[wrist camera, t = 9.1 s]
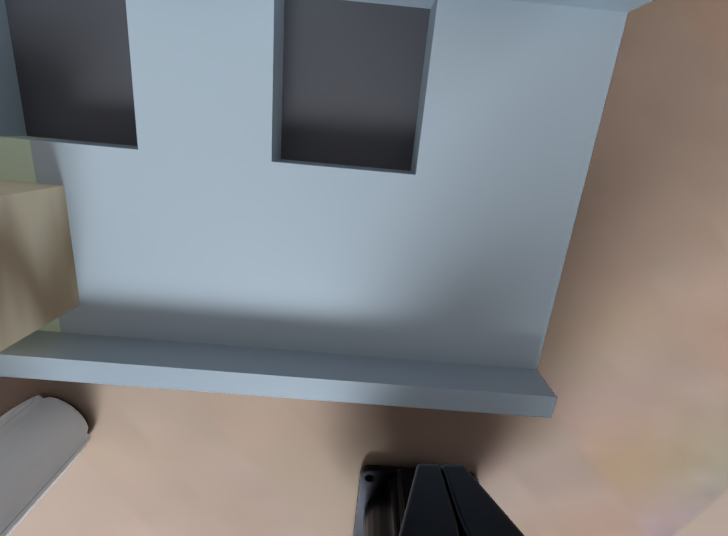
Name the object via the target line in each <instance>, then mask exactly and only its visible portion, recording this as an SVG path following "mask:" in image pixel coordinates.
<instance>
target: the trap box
mask: <svg viewBox="0 0 728 536" xmlns="http://www.w3.org/2000/svg"><path fill="white" fill-rule="evenodd" d="M651 1H653V0H0V179H1V180H11V181H21V182H32V183H42V184H52V185H63V186H64V189H65V196H66V204H67V211H68V219H69V226H70V234H71V241H72V249H73V256H74V264H75V271H76V279H77V286H78V294H79V301H80V305H78V306H77V307H75V308H73V309H72V310H70V311H68V312H67V313H65V314H63V315H62V316H60V317H58V318H56V319H55V320H53V321H51V322H50V323H48V324H46V325H45V326H43V327H41V328H40V329H38V330H36V331H34V332H33V333H31V334H29V335H28V336H26V337H24V338H23V339H21V340H19V341H18V342H16V343H14V344H13V345H11V346H9V347H7V348H6V349H4V350H2V351H1V352H0V376H2V377H16V378H29V379H42V380H55V381H69V382H82V383H95V384H108V385H122V386H135V387H148V388H161V389H175V390H188V391H201V392H214V393H227V394H241V395H254V396H267V397H280V398H294V399H307V400H320V401H333V402H347V403H360V404H373V405H386V406H400V407H413V408H426V409H439V410H453V411H466V412H479V413H492V414H506V415H519V416H532V417H545V418H552V414H553V410H554V407H555V403H556V400H557V396H556V395H555V394H554V392H553V391H552V390H551V388H550V387H549V385H548V384H547V383H546V381H545V380H544V379H543V377H542V376H541V375H540V373H539V372H538V371H537V367H538V363H539V359H540V355H541V352H542V348H543V344H544V340H545V336H546V332H547V328H548V324H549V320H550V316H551V312H552V309H553V305H554V301H555V297H556V293H557V289H558V285H559V281H560V277H561V273H562V269H563V265H564V262H565V258H566V254H567V250H568V246H569V242H570V238H571V234H572V230H573V226H574V222H575V218H576V215H577V211H578V207H579V203H580V199H581V195H582V191H583V187H584V183H585V179H586V175H587V171H588V168H589V164H590V160H591V156H592V152H593V148H594V144H595V140H596V136H597V132H598V128H599V124H600V121H601V117H602V113H603V109H604V105H605V101H606V97H607V93H608V89H609V85H610V81H611V77H612V74H613V70H614V66H615V62H616V58H617V54H618V50H619V46H620V42H621V38H622V34H623V30H624V27H625V23H626V19H627V15H628V12H630V11H632V10H634V9H636V8H638V7H641V6H643V5H645V4H647V3H649V2H651Z"/></svg>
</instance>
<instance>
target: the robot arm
mask: <svg viewBox="0 0 728 536" xmlns="http://www.w3.org/2000/svg"><path fill="white" fill-rule="evenodd" d="M369 474H370V475H372V476H367V475H369ZM353 536H524V535H523V533H522V532H521V531H520V530H519V529H518V528H517V527H516V525H515V524H514V523H513V522H512V521H511V520H510V519H509V517H508V516H507V515H506V514H505V513H504V512H503V510H502V509H501V508H500V507H499V506H498V505H497V504H496V502H495V501H494V500H493V499H492V498H491V497H490V496H489V494H488V493H487V492H486V491H485V490H484V489H483V487H482V486H481V485H480V484H479V481H478V478H477V476H476V475H475V474H474V473H471V472H469V471H468V470H467V469H466V468H465V467H464V466H462V465H458V464H443V465H441V466H439V465H438V464H424V463H420V464H418V465H417V467H416V468H404V467H390V466H376V465H366V466H364V467H363V468H362V469H361V471H360V480H359V489H358V498H357V508H356V517H355V526H354V535H353Z"/></svg>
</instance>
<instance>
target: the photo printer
mask: <svg viewBox="0 0 728 536" xmlns="http://www.w3.org/2000/svg"><path fill="white" fill-rule="evenodd" d="M87 431H88V425H87V423H86V421H85V419H84V418H83V416H82V415H81V414H80V413H79V412H78V411H77V410H76V409H75V408H73V407H72V406H71V405H69V404H68V403H66V402H64V401H62V400H60V399H57V398H53V397H46V398H42V397H41V396H40V395H37V396H34V397H32V398H30V399H28V400H26V401H24V402H23V403H21V404H19V405H18V406H16V407H14V408H12V409H11V410H9V411H8V412H7V413H5V414H4V415H3V416H1V417H0V536H8V535H9V534H10V533H11V532H12V531H13V530H14V529H15V528H16V527H17V525H18V524H19V523H20V522H21V521H22V520H23V519H24V518H25V516H26V515H27V514H28V513H29V512H30V511H31V510H32V509H33V507H34V506H35V505H36V504H37V503H38V502H39V501H40V500H41V498H42V497H43V496H44V495H45V494H46V493H47V492H48V490H49V489H50V488H51V487H52V486H53V485H54V484H55V483H56V481H57V480H58V479H59V478H60V477H61V476H62V475H63V473H64V472H65V471H66V470H67V469H68V468H69V467H70V465H71V464H72V463H73V462H74V461H75V460H76V458H77V457H78V456H79V454H80V453H81V452H82V450H83V449H84V448H85V446H86V445H87V443H88V441H89V440H90V438H91V436H90V435H89V434H88V433H87Z"/></svg>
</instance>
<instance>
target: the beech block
mask: <svg viewBox="0 0 728 536" xmlns="http://www.w3.org/2000/svg"><path fill="white" fill-rule="evenodd" d="M78 305H80V301H79V294H78V286H77V279H76V271H75V264H74V256H73V249H72V241H71V234H70V226H69V219H68V211H67V204H66V196H65V189H64V186H63V185H52V184H42V183H32V182H21V181H11V180H1V179H0V352H1V351H2V350H4V349H6V348H7V347H9V346H11V345H13V344H14V343H16V342H18V341H19V340H21V339H23V338H24V337H26V336H28V335H29V334H31V333H33V332H34V331H36V330H38V329H40V328H41V327H43V326H45V325H46V324H48V323H50V322H51V321H53V320H55V319H56V318H58V317H60V316H62V315H63V314H65V313H67V312H68V311H70V310H72V309H73V308H75V307H77V306H78Z"/></svg>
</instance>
